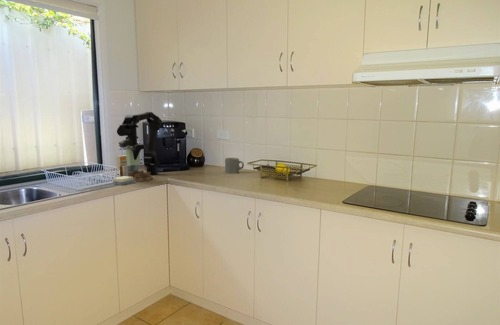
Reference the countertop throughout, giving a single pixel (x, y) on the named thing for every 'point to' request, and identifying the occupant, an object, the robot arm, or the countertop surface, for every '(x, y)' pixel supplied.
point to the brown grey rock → (134, 173)
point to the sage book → (132, 157)
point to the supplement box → (121, 161)
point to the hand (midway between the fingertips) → (133, 159)
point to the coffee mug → (232, 165)
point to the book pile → (123, 180)
